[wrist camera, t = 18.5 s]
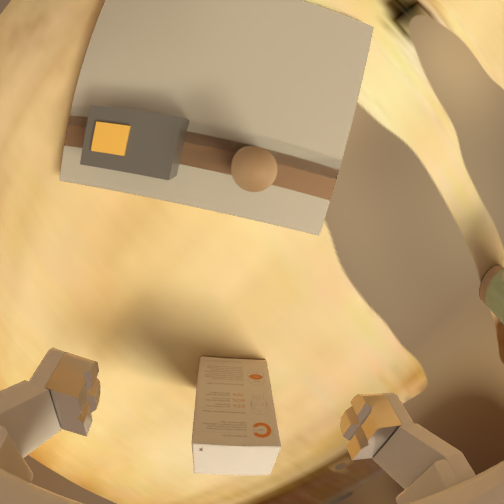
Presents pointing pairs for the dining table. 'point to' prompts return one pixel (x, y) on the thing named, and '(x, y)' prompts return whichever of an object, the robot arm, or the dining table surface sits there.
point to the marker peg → (253, 168)
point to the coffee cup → (493, 291)
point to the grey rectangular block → (134, 141)
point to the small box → (234, 418)
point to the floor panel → (228, 98)
